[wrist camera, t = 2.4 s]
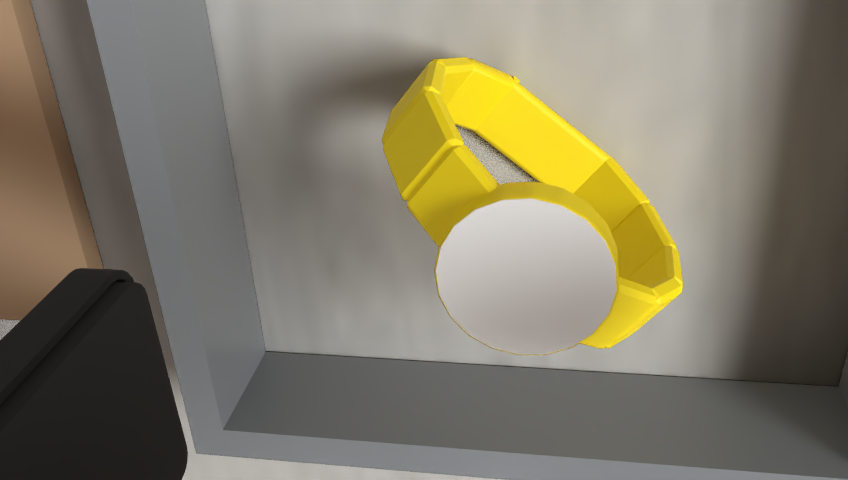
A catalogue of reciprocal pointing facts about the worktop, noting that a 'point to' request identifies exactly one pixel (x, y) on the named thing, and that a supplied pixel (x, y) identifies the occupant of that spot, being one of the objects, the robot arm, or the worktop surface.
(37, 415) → the robot arm
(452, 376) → the bin
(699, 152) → the worktop surface
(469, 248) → the watch
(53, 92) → the board
